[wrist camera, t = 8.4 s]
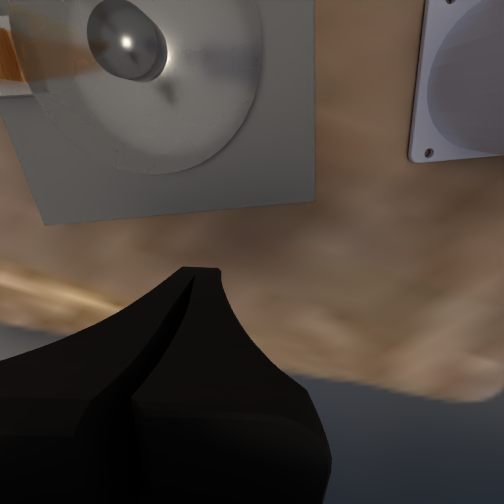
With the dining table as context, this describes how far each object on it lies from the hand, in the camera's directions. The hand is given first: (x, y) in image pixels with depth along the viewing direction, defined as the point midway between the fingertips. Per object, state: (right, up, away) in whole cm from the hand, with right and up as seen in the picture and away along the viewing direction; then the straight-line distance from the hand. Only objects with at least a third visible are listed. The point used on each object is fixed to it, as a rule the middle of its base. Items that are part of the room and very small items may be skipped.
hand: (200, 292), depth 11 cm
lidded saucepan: (-5, +11, +4) cm, 12 cm away
